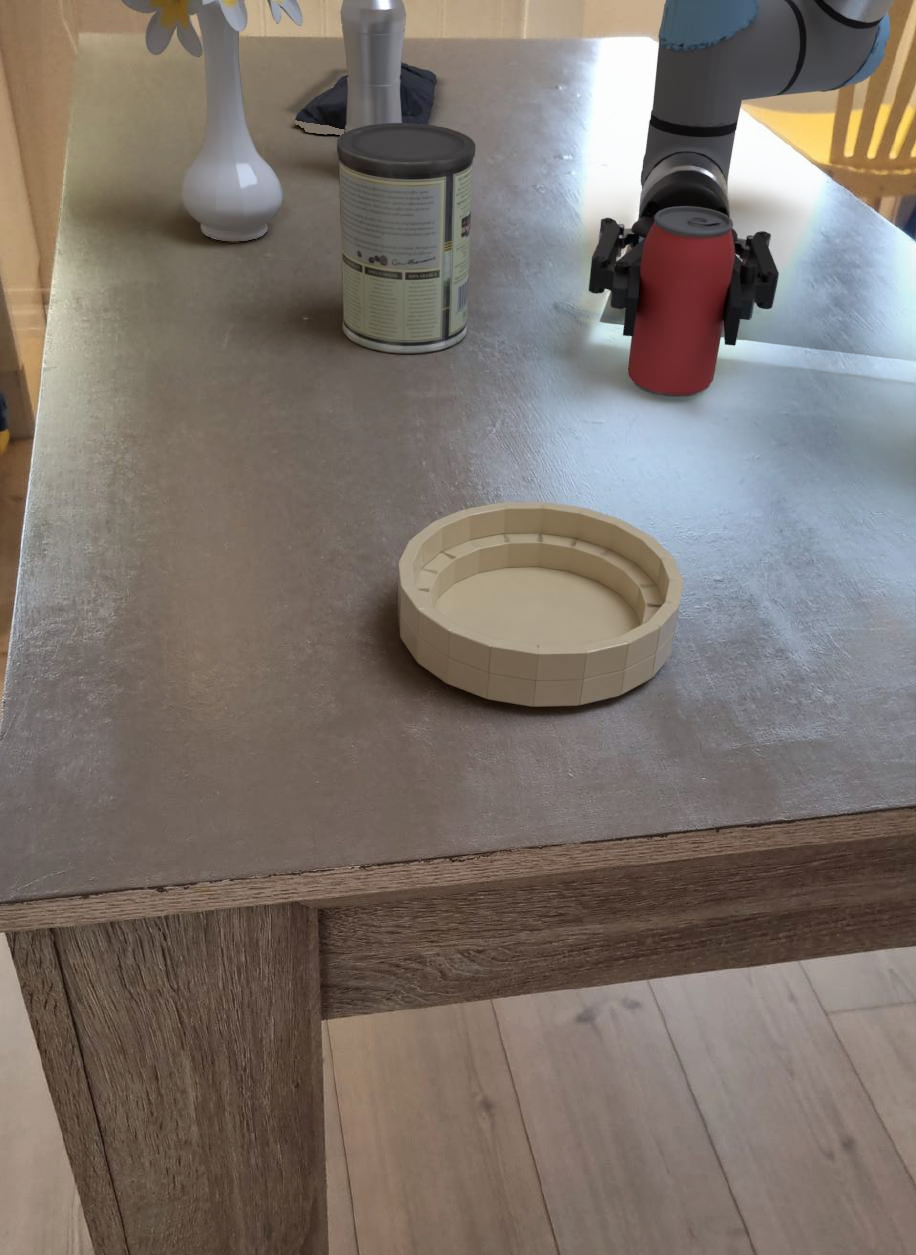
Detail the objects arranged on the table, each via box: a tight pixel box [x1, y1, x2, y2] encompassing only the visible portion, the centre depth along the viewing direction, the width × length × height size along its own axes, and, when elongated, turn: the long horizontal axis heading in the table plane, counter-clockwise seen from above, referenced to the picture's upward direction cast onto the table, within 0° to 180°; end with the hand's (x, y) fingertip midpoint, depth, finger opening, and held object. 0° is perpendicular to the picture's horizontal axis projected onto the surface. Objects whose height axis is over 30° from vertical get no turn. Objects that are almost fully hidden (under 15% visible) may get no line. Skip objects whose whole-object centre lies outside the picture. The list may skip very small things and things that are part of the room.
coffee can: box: [336, 123, 476, 355], centre depth 102 cm, size 10×10×14 cm
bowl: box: [397, 501, 685, 708], centre depth 73 cm, size 16×16×4 cm
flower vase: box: [120, 0, 304, 243], centre depth 113 cm, size 13×18×25 cm
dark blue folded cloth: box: [294, 61, 438, 130], centre depth 152 cm, size 15×22×5 cm
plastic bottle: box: [339, 0, 407, 133], centre depth 129 cm, size 6×7×20 cm
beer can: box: [627, 206, 736, 398], centre depth 96 cm, size 7×7×12 cm
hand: (681, 321), depth 92 cm, fingers closed on beer can, 6 cm apart
